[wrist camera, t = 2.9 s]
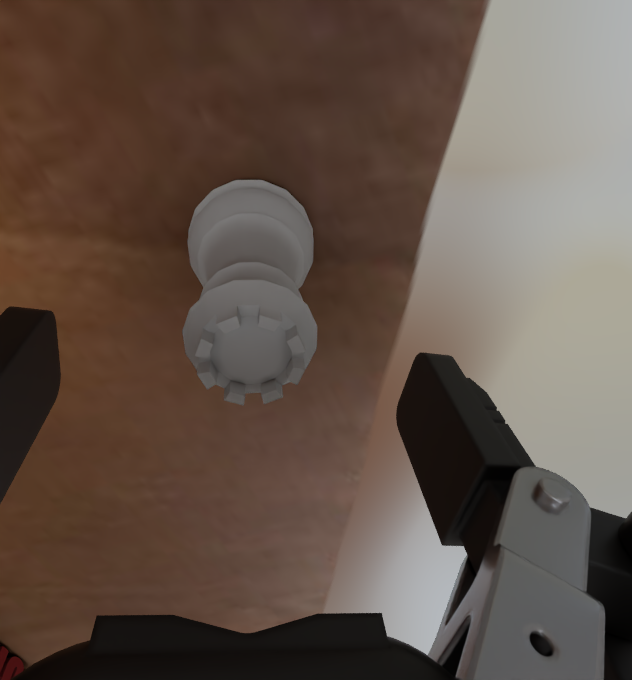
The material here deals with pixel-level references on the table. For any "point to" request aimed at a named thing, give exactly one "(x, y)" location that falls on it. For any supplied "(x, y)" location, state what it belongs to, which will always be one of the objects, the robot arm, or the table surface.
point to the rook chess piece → (250, 290)
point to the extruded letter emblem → (9, 665)
